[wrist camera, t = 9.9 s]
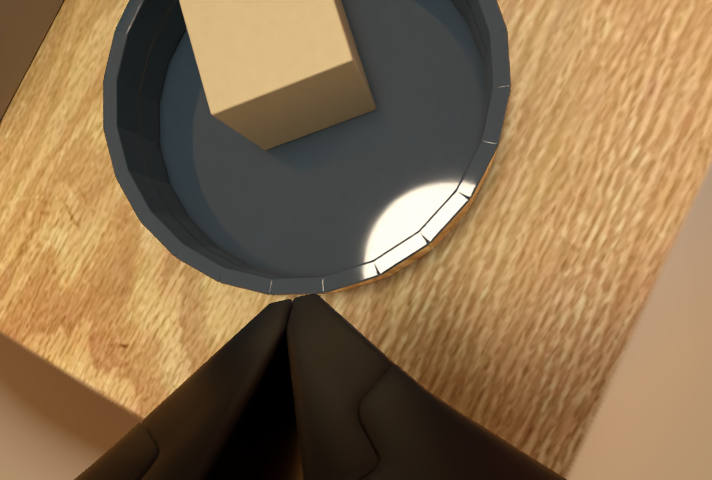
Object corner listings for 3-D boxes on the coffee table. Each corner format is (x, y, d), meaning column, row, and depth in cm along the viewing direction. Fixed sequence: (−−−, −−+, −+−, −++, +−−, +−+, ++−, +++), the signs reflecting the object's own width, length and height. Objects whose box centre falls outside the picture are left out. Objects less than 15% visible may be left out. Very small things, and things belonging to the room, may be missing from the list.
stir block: (353, 59, 16) (286, -147, 17) (210, 115, 17) (154, -85, 18) (376, 109, 21) (324, -53, 22) (265, 151, 22) (218, -8, 23)
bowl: (554, 225, 20) (575, 214, 17) (202, 335, 23) (157, 346, 19) (432, -117, 22) (428, -189, 19) (119, 19, 24) (64, -23, 21)
